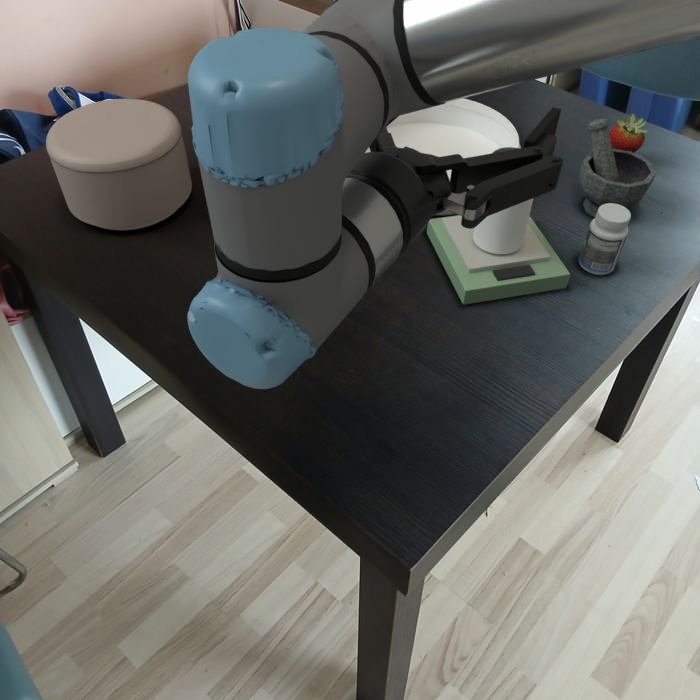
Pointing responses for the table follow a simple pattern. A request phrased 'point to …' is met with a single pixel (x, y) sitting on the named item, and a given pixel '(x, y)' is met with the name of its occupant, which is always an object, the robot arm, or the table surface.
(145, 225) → the container
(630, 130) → the fruit
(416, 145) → the white round shallow dish
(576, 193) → the table surface
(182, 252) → the table surface
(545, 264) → the kitchen scale
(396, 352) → the table surface
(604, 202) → the mortar and pestle
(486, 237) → the can
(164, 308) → the table surface
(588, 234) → the pill bottle
